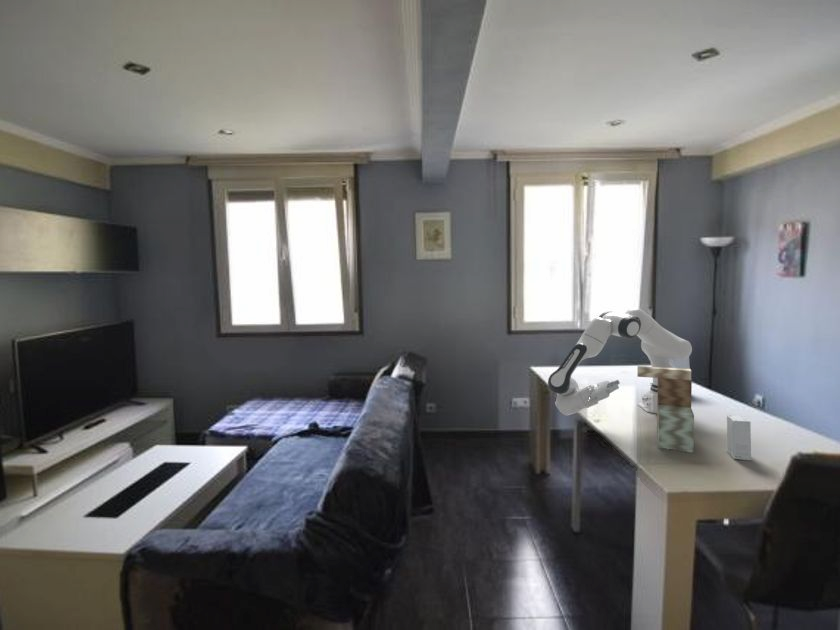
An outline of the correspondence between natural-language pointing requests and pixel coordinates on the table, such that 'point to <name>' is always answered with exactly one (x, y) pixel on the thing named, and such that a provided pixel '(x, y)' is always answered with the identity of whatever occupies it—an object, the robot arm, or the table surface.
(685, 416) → the stepped stand
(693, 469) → the table surface
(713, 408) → the table surface
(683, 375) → the birch batten
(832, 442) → the table surface
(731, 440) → the skincare box
